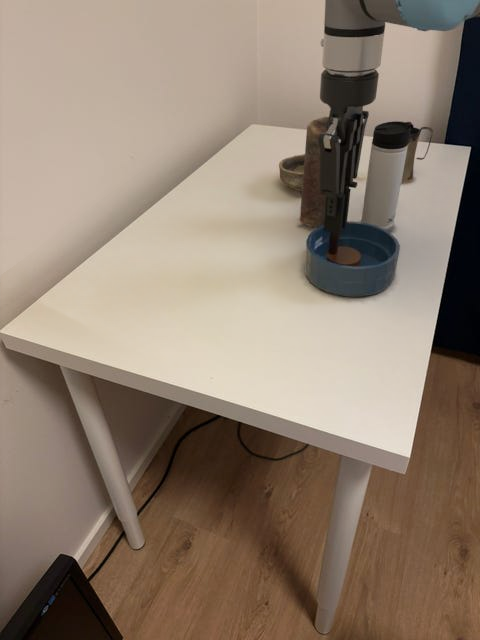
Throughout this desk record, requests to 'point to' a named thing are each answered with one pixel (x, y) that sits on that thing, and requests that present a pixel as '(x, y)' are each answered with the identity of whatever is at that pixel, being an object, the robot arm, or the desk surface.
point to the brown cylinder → (313, 177)
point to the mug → (412, 153)
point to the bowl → (292, 171)
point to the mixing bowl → (348, 280)
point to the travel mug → (385, 173)
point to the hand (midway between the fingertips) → (335, 228)
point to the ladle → (342, 252)
